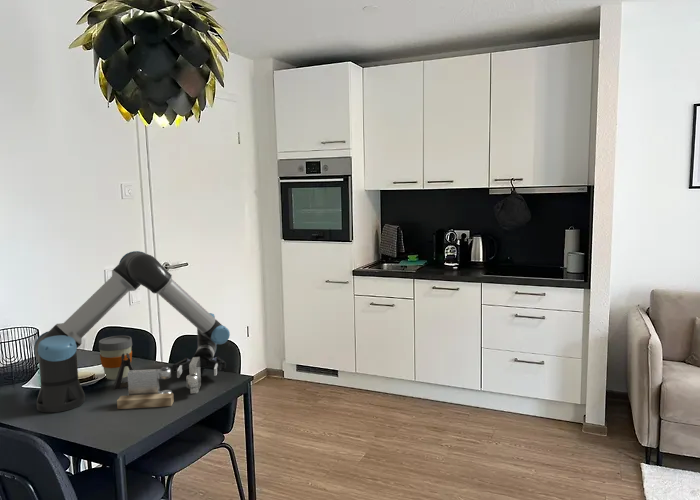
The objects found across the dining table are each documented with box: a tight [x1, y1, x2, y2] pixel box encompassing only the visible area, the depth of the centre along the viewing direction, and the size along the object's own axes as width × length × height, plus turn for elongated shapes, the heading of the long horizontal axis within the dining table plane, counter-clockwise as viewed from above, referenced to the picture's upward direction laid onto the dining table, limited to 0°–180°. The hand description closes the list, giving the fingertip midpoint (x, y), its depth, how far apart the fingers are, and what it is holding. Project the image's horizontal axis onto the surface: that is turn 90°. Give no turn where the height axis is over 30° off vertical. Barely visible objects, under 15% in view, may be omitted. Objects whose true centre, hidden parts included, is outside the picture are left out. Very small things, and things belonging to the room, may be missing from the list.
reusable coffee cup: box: [98, 335, 133, 380], centre depth 218 cm, size 12×13×15 cm
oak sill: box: [116, 392, 175, 410], centre depth 189 cm, size 18×4×3 cm, turn 97°
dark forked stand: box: [114, 353, 135, 390], centre depth 208 cm, size 9×6×12 cm, turn 114°
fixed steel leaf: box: [127, 366, 173, 396], centre depth 192 cm, size 14×4×12 cm, turn 97°
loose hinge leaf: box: [186, 356, 202, 395], centre depth 201 cm, size 4×14×11 cm, turn 7°
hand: (196, 373), depth 203 cm, fingers open, 13 cm apart
